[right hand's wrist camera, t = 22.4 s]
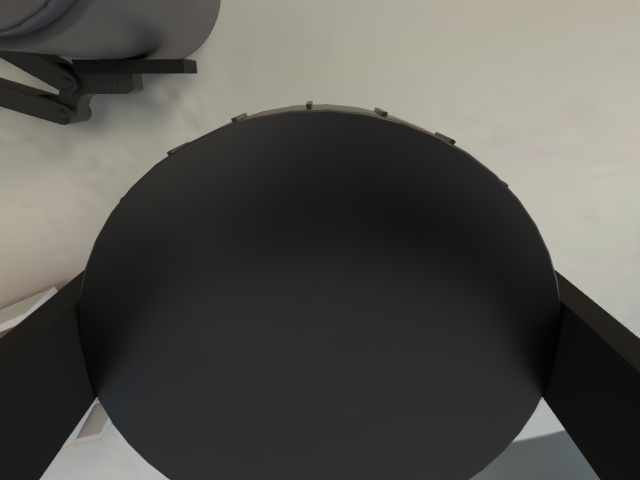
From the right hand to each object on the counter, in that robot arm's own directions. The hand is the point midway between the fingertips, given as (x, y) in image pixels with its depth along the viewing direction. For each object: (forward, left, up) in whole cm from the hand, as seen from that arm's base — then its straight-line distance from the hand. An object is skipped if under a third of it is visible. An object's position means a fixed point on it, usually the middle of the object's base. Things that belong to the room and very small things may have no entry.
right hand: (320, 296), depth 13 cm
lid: (0, 0, +3) cm, 3 cm away
